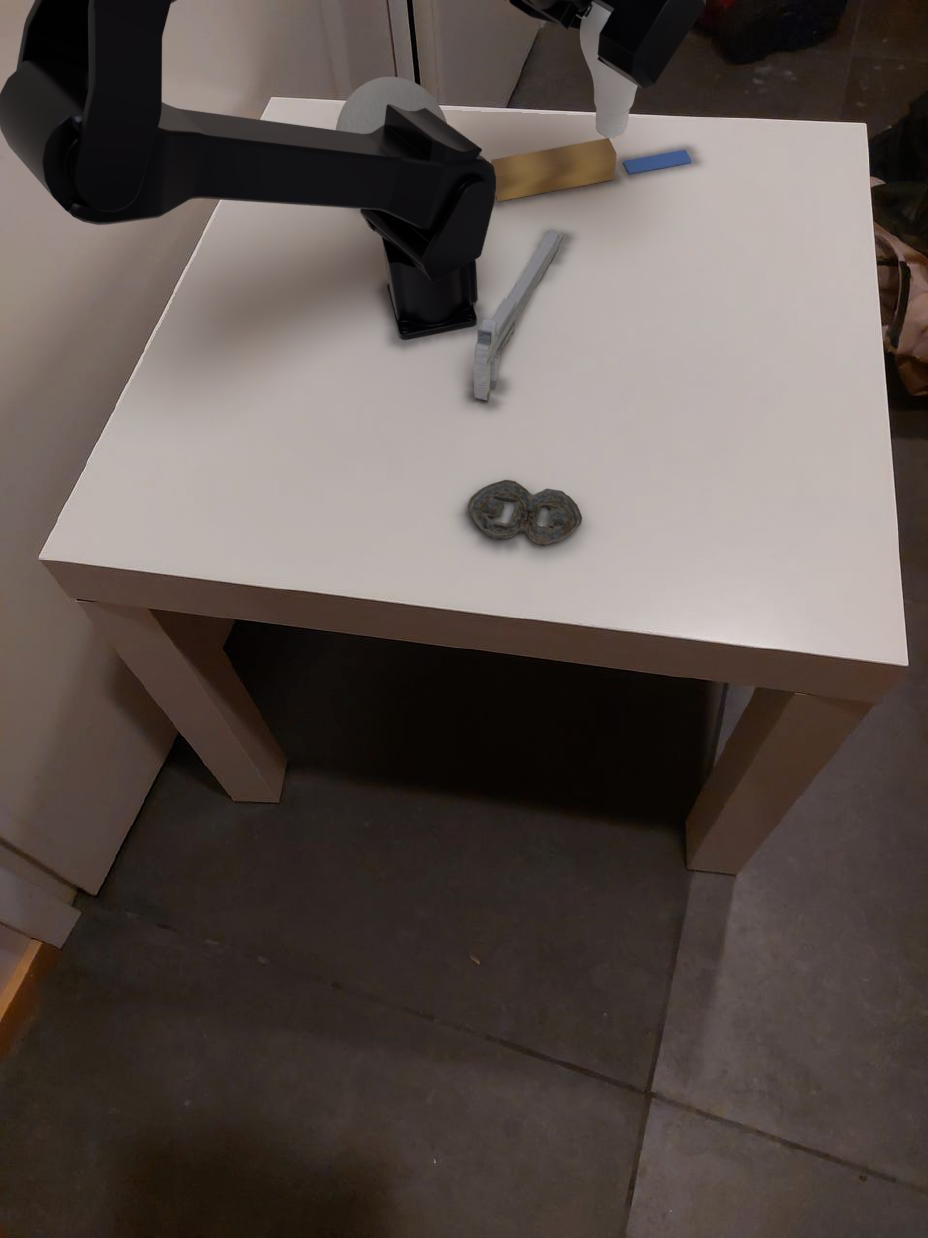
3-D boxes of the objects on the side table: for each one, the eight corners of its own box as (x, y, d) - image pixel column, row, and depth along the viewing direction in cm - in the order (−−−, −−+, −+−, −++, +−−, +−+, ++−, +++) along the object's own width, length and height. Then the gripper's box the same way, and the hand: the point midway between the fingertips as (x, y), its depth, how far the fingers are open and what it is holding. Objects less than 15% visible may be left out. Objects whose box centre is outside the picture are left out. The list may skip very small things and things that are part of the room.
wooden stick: (497, 201, 77) (497, 176, 75) (491, 185, 78) (490, 159, 76) (614, 179, 77) (617, 153, 75) (606, 163, 79) (608, 137, 76)
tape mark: (628, 174, 78) (629, 172, 78) (622, 162, 79) (623, 160, 78) (691, 162, 78) (691, 160, 78) (684, 151, 79) (685, 148, 79)
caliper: (487, 406, 65) (485, 344, 60) (474, 403, 65) (470, 341, 60) (563, 237, 74) (567, 169, 69) (551, 235, 74) (554, 167, 69)
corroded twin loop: (573, 559, 58) (574, 550, 57) (460, 538, 59) (460, 529, 58) (587, 501, 60) (588, 492, 59) (478, 482, 62) (477, 473, 61)
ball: (340, 172, 80) (319, 60, 71) (444, 156, 80) (436, 43, 72) (351, 240, 75) (330, 129, 67) (461, 223, 76) (455, 111, 67)
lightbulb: (595, 167, 68) (610, 14, 58) (559, 127, 70) (567, -25, 61) (661, 145, 69) (687, -9, 59) (623, 106, 71) (641, -46, 62)
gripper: (717, -192, 44) (801, -21, 57) (501, -282, 52) (617, -114, 64) (588, 26, 49) (692, 140, 61) (408, -86, 57) (532, 35, 69)
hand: (632, 44), depth 64 cm, fingers closed on lightbulb, 6 cm apart
